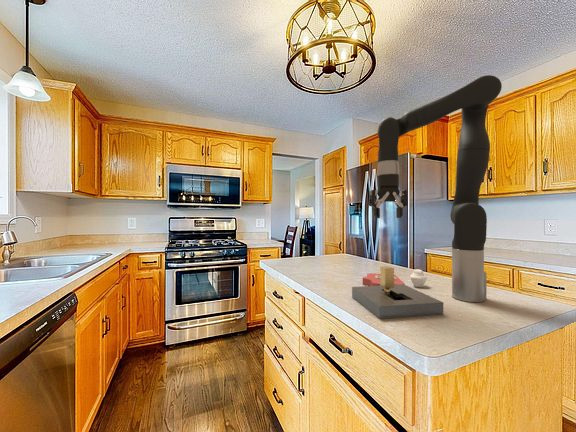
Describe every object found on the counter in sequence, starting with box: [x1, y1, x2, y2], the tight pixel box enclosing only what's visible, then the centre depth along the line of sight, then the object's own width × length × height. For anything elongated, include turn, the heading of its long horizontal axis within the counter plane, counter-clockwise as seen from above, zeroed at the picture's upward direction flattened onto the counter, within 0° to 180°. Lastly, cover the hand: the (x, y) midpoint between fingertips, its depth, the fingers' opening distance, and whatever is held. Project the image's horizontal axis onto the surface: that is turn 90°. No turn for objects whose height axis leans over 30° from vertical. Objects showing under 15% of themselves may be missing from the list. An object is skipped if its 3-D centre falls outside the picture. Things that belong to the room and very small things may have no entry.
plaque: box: [362, 272, 406, 286], centre depth 111 cm, size 18×4×15 cm
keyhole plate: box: [351, 284, 444, 320], centre depth 86 cm, size 20×20×4 cm
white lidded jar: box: [409, 268, 428, 288], centre depth 109 cm, size 6×6×7 cm
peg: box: [379, 265, 396, 300], centre depth 90 cm, size 5×5×12 cm
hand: (388, 218), depth 99 cm, fingers open, 8 cm apart
